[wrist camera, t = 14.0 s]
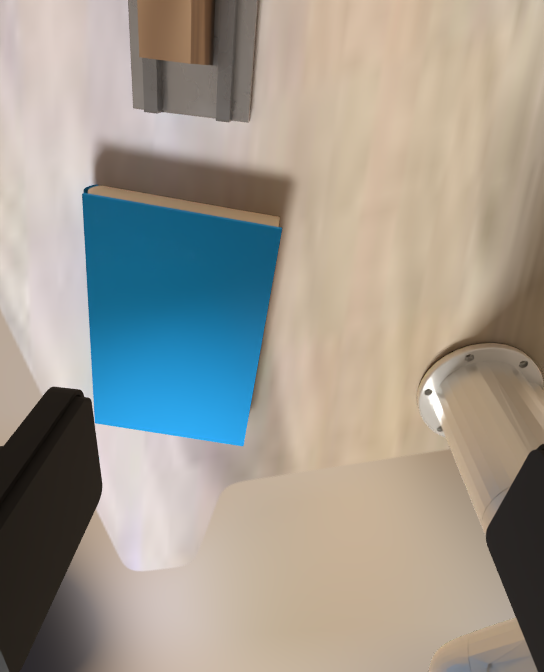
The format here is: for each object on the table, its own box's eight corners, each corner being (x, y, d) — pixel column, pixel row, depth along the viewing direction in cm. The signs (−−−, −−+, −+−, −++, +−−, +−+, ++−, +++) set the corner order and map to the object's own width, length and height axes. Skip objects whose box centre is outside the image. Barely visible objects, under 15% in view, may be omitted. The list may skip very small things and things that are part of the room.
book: (282, 226, 36) (245, 449, 49) (283, 212, 40) (249, 422, 53) (72, 191, 36) (89, 426, 48) (93, 181, 39) (104, 401, 52)
